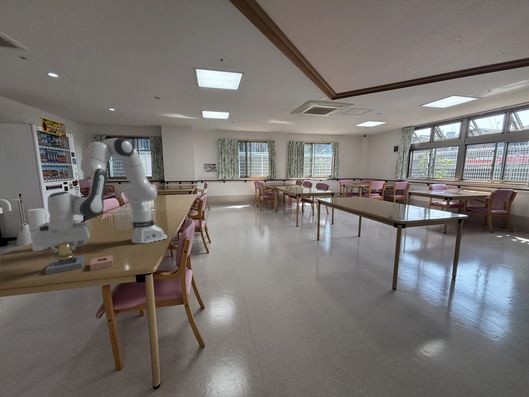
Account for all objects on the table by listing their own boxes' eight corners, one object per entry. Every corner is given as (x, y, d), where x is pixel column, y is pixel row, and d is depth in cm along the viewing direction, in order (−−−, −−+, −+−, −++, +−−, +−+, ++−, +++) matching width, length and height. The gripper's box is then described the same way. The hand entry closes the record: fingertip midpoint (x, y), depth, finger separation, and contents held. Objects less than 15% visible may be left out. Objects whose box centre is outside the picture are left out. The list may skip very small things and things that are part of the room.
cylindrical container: (30, 251, 132) (25, 210, 129) (35, 247, 138) (30, 208, 135) (46, 249, 135) (41, 209, 132) (50, 246, 141) (46, 208, 138)
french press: (90, 242, 149) (87, 206, 146) (74, 248, 137) (70, 209, 134) (77, 242, 150) (73, 206, 147) (60, 248, 138) (55, 209, 135)
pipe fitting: (74, 255, 115) (72, 240, 114) (72, 258, 111) (70, 243, 110) (59, 257, 112) (57, 242, 111) (56, 261, 107) (55, 245, 106)
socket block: (84, 259, 121) (84, 255, 121) (81, 268, 110) (81, 263, 110) (52, 264, 114) (52, 260, 113) (46, 274, 103) (45, 269, 103)
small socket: (113, 260, 120) (112, 255, 119) (112, 266, 112) (112, 260, 112) (92, 264, 115) (91, 258, 114) (90, 270, 107) (90, 264, 107)
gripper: (89, 220, 118) (91, 245, 119) (35, 225, 106) (39, 253, 108) (88, 223, 112) (90, 249, 114) (31, 228, 101) (35, 257, 103)
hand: (65, 251), depth 111 cm, fingers closed on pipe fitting, 5 cm apart
